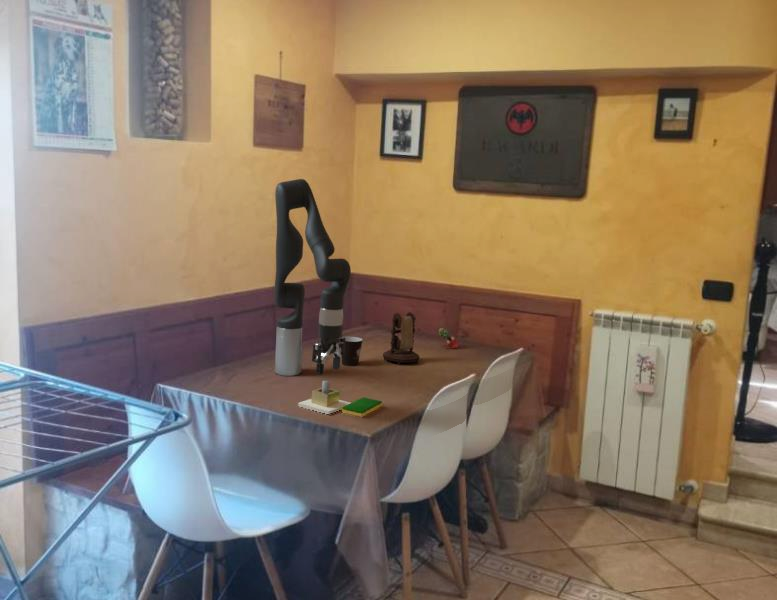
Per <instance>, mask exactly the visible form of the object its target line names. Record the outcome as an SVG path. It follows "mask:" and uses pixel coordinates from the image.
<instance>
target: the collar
mask: <svg viewBox="0 0 777 600" xmlns="http://www.w3.org/2000/svg"><path fill="white" fill-rule="evenodd" d="M311 398H312V399H311ZM311 398H310V399H311V403H313V404H317V405H320V406H324V407H329V406H332V405H334V404H337V403H339V400H340V390H338V389H334V388H330V389H329V393H323V392H322V387H319V388H316V389H313V390H311Z"/></svg>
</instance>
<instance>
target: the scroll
mask: <svg viewBox="0 0 777 600" xmlns="http://www.w3.org/2000/svg"><path fill="white" fill-rule="evenodd" d="M391 321H392V326H391V330H390V334H391V338H390V340H391V341H390V347H391V348H390V349H388V350H387V351H385V352H384V351H383V354H382V358H383V360H388V361H392V362H397V365H398V366H399V365H401V363H414V362H416V363H417V364H418V363H419V362H420V354H418V353H417V352H414V351H413V350H414V347H413V346H414V342H415V340H414V337H415V336H414V334H415V332H416V328H415V321H416V317H415V315H414V313H413V312H411V311H409V312H407V313H406V315H404V316H401V314H400V313H399V312H395V313H394V314H393V317H392V319H391ZM396 334H400V337H399V336H398V335H396Z"/></svg>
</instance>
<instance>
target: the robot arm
mask: <svg viewBox="0 0 777 600" xmlns="http://www.w3.org/2000/svg"><path fill="white" fill-rule="evenodd" d="M274 191H275V192H274V195H275V196H274V197H275V198H274V199H275V210H276V211H275V212H276V235H275V236H276V238H275V239H276V240H275V278H274V279H275V280H274V290H273V291H274V292H273V302H274V305H275V306H276V308H279V309H294V310H293V312H291V313H289V314H287V315H282V316H280V317H278V318H277V319H276V336H275V338H276V340H275V358H274V361H275V362H274V373H275V374H276V375H279V376H288V377H289V376H290V377H292V376H297V375H300V373H301V372H302V371H303V350H304V346H302V342H303V341H302V339H303V338H302V337H303V316H304V305H305V298H306V297H305V296H306V291H305V286H304V284H303V283H301V282H300V283H299V282H286V279H288V278H287V277H289V275H290V274H291V273H292V271H293V270H294V269H295V268H296V267H297V266H298V265H299V263H300V262H301V260H302V258H303V254H304V239H303V236H302V235H301V232H300V231H299V230H298V229H297V227H296V226H295V225H294V223H292V220H291V219H290V211H291V210H295V209H301V208H304V209H305V211H306V213H307V219H306V224H305V229H304V236H305V241H306V243H307V246H308V247H309V249H310V250H311V253H312V255H313V259H314V264H315V265H314V267H315V272H316V275H317V278H319V279H320V280H321V281H323V282H324V283H331V282H332V283H331V285H330V287H326V288H325V289H323V290H321V294H320V309H319V313H318V330H317V333H318V337H319V338H320V341H319V343H318V342H314V343H313V347H312V357H311V361H312V362H313V363H316V371H315V373H316V375H318V376H323V375H324V372H325V371H324V370H325V361H326V359H327V358H329V356H330V355H331V354H332V356H333V358H332V370H336V371H338V370H340V367H341V359H342V355H345V337H346V336H343V327H344V325H343V324H344V296H345V292H346V290H347V288H348V284H349V280H350V278H351V273H352V272H351V271H352V269H351V266H350V263H349V261H348V260H347V259H345V258H330V257H332V256H333V254H334V253H335V249H336V248H335V246H334V244H333V242H332V239H331V238H330V236H329V234H328V232H327V230H326V228H325V225H324V223H323V220H322V217H321V213H320V211H319V208H318V205H317V202H316V199H315V196H314V194H313V193H314V192H313V191H312V189H311V186H310V184H309V182H307V180H306V179H304V178H299V179H293V180H292V179H291V180H287V181H282V182H278V183H277V185H276V187H275V190H274ZM341 348H342V351H341Z"/></svg>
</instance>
